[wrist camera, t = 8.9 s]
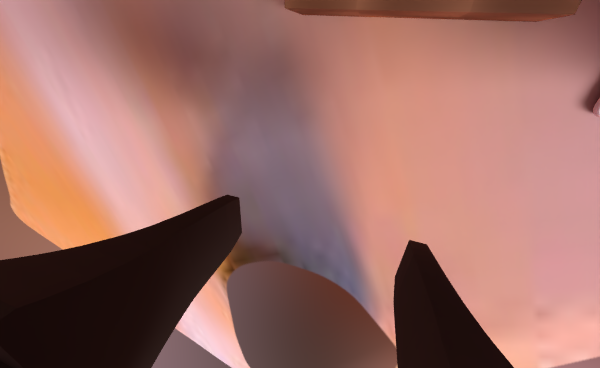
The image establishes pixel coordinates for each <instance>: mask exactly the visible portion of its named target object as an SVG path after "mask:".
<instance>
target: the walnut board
mask: <svg viewBox="0 0 600 368" xmlns="http://www.w3.org/2000/svg"><path fill="white" fill-rule="evenodd" d="M581 1H582V0H285V8H286V9H289V10H291V11H294V12H297V13H299V14H302V15H326V16H361V17H395V18H430V19H464V20H499V21H533V22H537V21H542V20H547V19H553V18H558V17H564V16H569V15H574V14H575V12H576V10H577V9H578V7H579V5H580V3H581Z"/></svg>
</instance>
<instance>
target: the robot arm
mask: <svg viewBox="0 0 600 368" xmlns="http://www.w3.org/2000/svg"><path fill="white" fill-rule="evenodd" d="M593 113H594V114H595V115H596V116H598V117H600V98H599V99H598V101H597V103H596V104H595V106H594V108H593ZM241 233H242V228H241V215H240V202H239V198H238V197H234V196H230V195H225V196H222V197H220V198H217V199H215V200H213V201H210V202H208V203H206V204H203V205H201V206H199V207H196V208H194V209H192V210H190V211H187V212H185V213H183V214H180V215H178V216H175V217H173V218H170V219H167V220H165V221H162V222H160V223H157V224H155V225H152V226H149V227H146V228H143V229H140V230H137V231H134V232H131V233H128V234H125V235H121V236H118V237H114V238H110V239H106V240H103V241H99V242H95V243H91V244H87V245H83V246H78V247H74V248H69V249H64V250H60V251H55V252H50V253H44V254H39V255H32V256H26V257H19V258H13V259H6V260H0V368H151V367H152V366H153V364H154V362H155V360H156V359H157V357H158V355H159V353H160V352H161V350H162V348H163V346H164V345H165V343H166V341H167V340H168V338H169V337H170V335H171V333H172V332H173V330H174V329H175V327H176V325H177V324H178V322H179V321H180V319H181V317H182V316H183V314H184V313H185V311H186V310H187V308H188V307H189V305H190V304H191V302H192V301H193V299H194V298H195V297H196V295H197V294H198V293H199V291H200V290H201V289H202V287H203V286H204V285H205V284H206V282H207V281H208V280H209V279H210V277H211V276H212V275H213V274H214V272H215V271H216V270H217V269H218V267H219V266H220V265H221V264H222V262H223V261H224V260H225V258H226V257H227V256H228V254H229V253H230V252H231V250H232V249H233V247H234V245H235V244H236V242H237V240H238V239H239V237H240V235H241ZM394 318H395V333H396V348H397V363H398V368H514V367H513V366H512V365H511V364H510V362H509V361H508V360H507V359H506V358H505V356H504V355H503V354H502V353H501V351H500V350H499V349H498V348H497V347H496V345H495V344H494V343H493V342H492V340H491V339H490V338H489V337H488V335H487V334H486V333H485V332H484V330H483V329H482V328H481V326H480V325H479V323H478V322H477V321H476V319H475V318H474V317H473V315H472V314H471V313H470V311H469V310H468V308H467V307H466V305H465V304H464V303H463V301H462V300H461V298H460V297H459V295H458V294H457V292H456V291H455V289H454V288H453V286H452V285H451V283H450V281H449V280H448V278H447V277H446V275H445V273H444V272H443V270H442V269H441V267H440V265H439V264H438V262H437V260H436V259H435V257H434V255H433V254H432V252H431V250H430V249H429V247H428V246H427V244H423V243H419V242H415V241H411V240H409V242H408V245H407V247H406V250H405V252H404V255H403V257H402V260H401V263H400V265H399V268H398V270H397V273H396V275H395V285H394Z"/></svg>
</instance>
